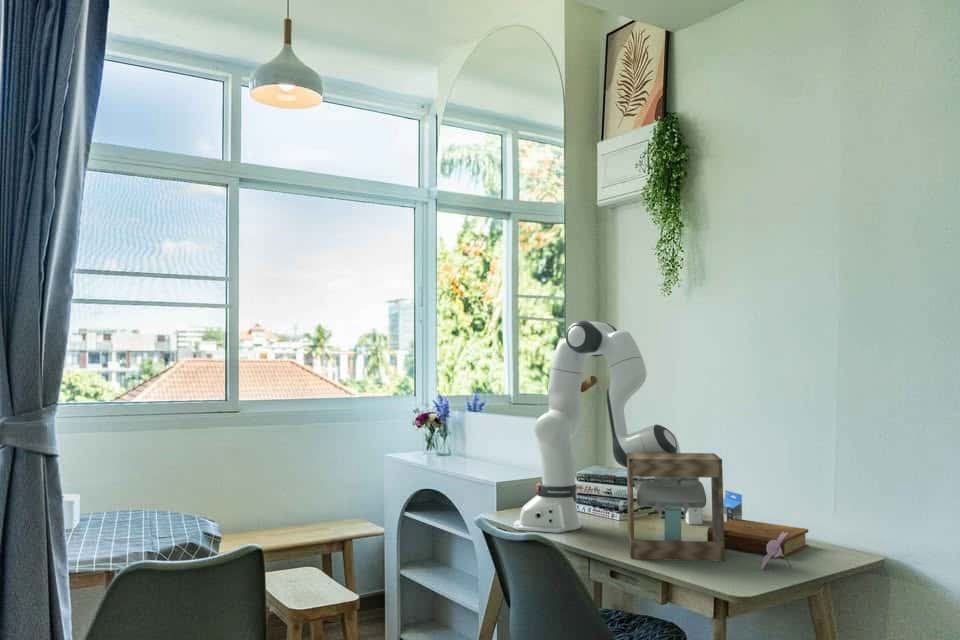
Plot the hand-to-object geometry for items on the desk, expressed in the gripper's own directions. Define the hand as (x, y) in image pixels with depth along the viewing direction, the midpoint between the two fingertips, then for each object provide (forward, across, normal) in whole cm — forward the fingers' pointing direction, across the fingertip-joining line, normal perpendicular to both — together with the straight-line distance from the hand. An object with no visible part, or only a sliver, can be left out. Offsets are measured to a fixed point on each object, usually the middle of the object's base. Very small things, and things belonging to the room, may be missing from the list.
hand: (672, 518), depth 223 cm
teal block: (+6, 0, +6) cm, 9 cm away
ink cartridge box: (-22, +11, +37) cm, 44 cm away
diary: (0, +26, +14) cm, 29 cm away
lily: (+16, +25, -2) cm, 30 cm away
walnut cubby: (+8, 0, +6) cm, 10 cm away
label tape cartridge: (-14, +21, +28) cm, 37 cm away
